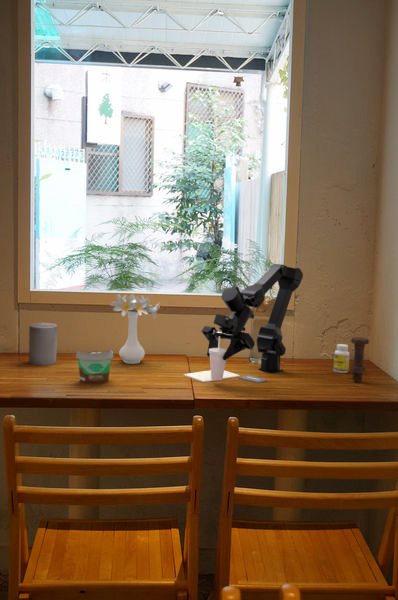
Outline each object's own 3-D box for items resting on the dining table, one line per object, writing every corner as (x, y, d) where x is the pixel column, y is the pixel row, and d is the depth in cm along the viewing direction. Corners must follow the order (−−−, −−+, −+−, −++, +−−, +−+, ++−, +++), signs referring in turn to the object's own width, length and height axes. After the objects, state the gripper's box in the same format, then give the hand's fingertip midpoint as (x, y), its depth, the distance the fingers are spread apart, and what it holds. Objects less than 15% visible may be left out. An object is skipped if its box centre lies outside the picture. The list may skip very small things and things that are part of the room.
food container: (81, 386, 206) (81, 354, 205) (75, 381, 212) (75, 351, 210) (118, 382, 212) (119, 352, 211) (111, 378, 217) (112, 348, 216)
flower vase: (159, 366, 237) (161, 297, 234) (107, 365, 236) (108, 296, 232) (158, 358, 250) (160, 293, 247) (109, 357, 248) (110, 291, 245)
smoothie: (227, 377, 217) (229, 335, 215) (226, 382, 211) (228, 339, 209) (207, 375, 218) (210, 334, 216) (206, 380, 212) (208, 338, 209)
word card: (248, 376, 227) (248, 374, 227) (266, 380, 222) (267, 379, 222) (239, 378, 224) (239, 377, 224) (258, 383, 218) (258, 381, 218)
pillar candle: (22, 362, 235) (23, 321, 233) (43, 358, 243) (44, 318, 241) (41, 367, 230) (42, 324, 228) (62, 362, 238) (63, 321, 236)
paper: (219, 369, 235) (219, 368, 235) (240, 376, 227) (240, 375, 226) (183, 375, 225) (183, 374, 225) (203, 382, 217) (203, 381, 217)
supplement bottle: (330, 370, 240) (331, 344, 239) (339, 369, 244) (341, 343, 243) (342, 373, 236) (344, 347, 235) (351, 372, 240) (353, 345, 239)
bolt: (366, 380, 227) (369, 338, 225) (365, 384, 222) (368, 340, 221) (349, 378, 229) (352, 336, 227) (347, 382, 224) (350, 338, 222)
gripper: (205, 301, 220) (182, 338, 213) (250, 308, 208) (227, 347, 201) (220, 322, 227) (198, 358, 220) (264, 330, 215) (242, 368, 208)
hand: (215, 357), depth 212 cm, fingers closed on smoothie, 6 cm apart
